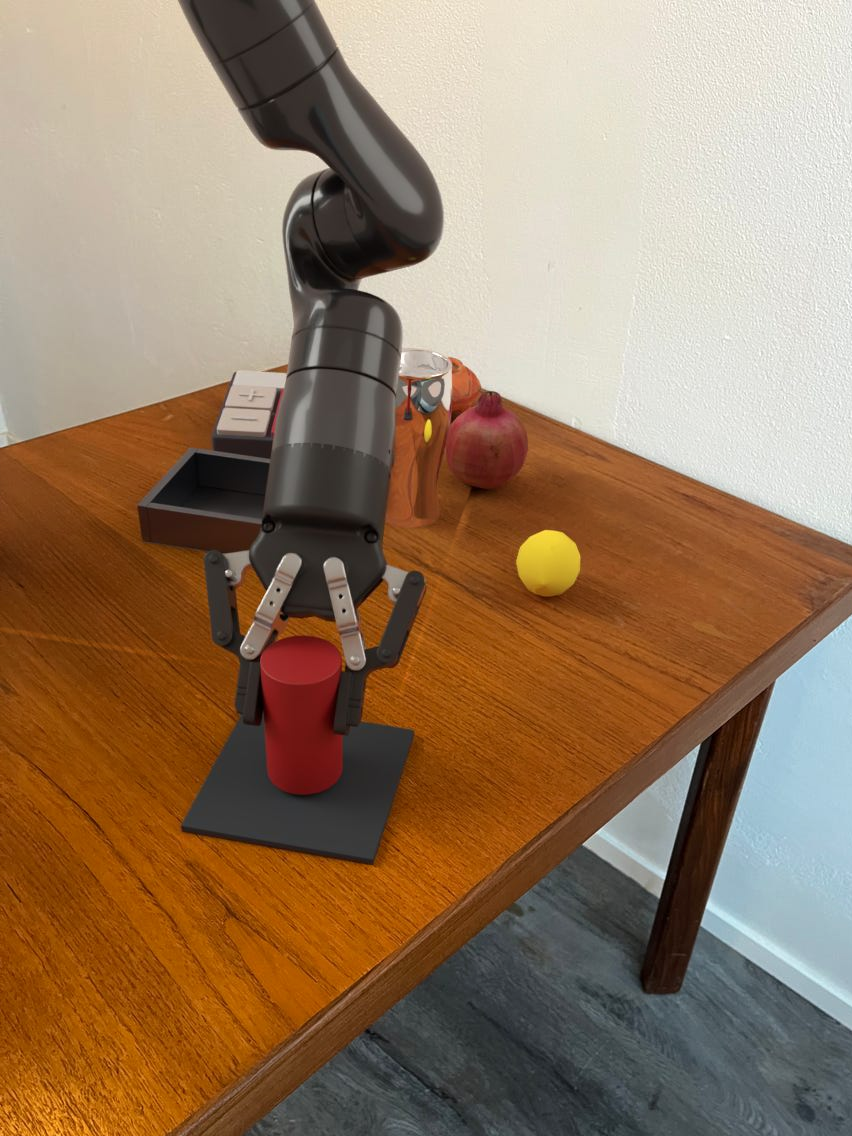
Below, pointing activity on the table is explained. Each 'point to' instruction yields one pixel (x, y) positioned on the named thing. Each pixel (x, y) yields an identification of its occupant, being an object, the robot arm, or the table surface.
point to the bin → (207, 502)
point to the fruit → (486, 444)
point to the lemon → (548, 563)
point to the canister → (301, 713)
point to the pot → (463, 386)
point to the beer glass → (419, 437)
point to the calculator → (249, 414)
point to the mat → (303, 796)
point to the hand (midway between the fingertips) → (297, 728)
